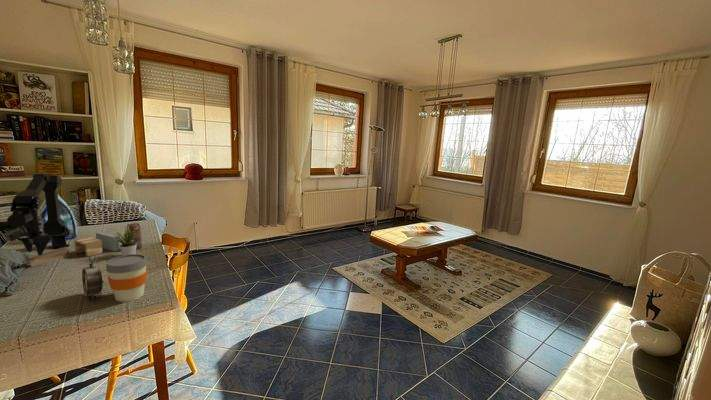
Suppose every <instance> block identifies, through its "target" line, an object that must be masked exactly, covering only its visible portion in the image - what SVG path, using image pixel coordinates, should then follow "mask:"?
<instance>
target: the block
mask: <svg viewBox="0 0 711 400" xmlns="http://www.w3.org/2000/svg"><path fill="white" fill-rule="evenodd" d="M73 243H74V251H75V254H81V253H85V256H86V257H87V258H89V257H92V256H95V255H98V254H99V255H100V254H103V248H102V242H101V240H99V239H96V237H95V238H94V237H91V236H87V237H84V238H82V237H81V238H78V239H74V240H73Z"/></svg>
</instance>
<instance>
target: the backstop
mask: <svg viewBox="0 0 711 400" xmlns="http://www.w3.org/2000/svg"><path fill="white" fill-rule="evenodd" d="M118 237H119V236H118V235H113V234H110V233H106V232H101V231H99V232H98V231H97V232H95V239H99V240H101V242H102V249H104V250H108V251H112V252H118V251H120V242H119V241H116V240H119V238H118ZM115 241H116V242H115Z"/></svg>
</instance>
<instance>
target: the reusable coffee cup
mask: <svg viewBox="0 0 711 400" xmlns="http://www.w3.org/2000/svg"><path fill="white" fill-rule="evenodd" d="M147 265H148V261H147V257H146V255H144V254H141V253H136V254H130V255H120V256H115V257H112V258H110V259H108V260H107V261H106V264H105V271H106V272H107V275H108V276H107V279H108V283H109V287H110V289H111V290H112V292H113V295H114V299H115V301H117V302H122V303H123V302H131V301H134V300H137V299H140V298H141V297H143V296H144V294H145V287H146V286H145V285H146V284H145V283H147V278H148V277H147V274H148V269H147Z"/></svg>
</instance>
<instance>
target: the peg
mask: <svg viewBox="0 0 711 400" xmlns="http://www.w3.org/2000/svg"><path fill="white" fill-rule="evenodd" d="M30 257H31V258H29V259H28V260H29V264H30V266H31V267H30V268H33V267H36V266H40V265H44V264H46V263H50V262H54V261H56V260H57V261H58V260H61V259H64V258H68V257H70V248H66V247H62V248H58V249H54V250H50V251H47V252H43V253H42V255H38V254H35V255H32V256H31V255H30Z"/></svg>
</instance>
